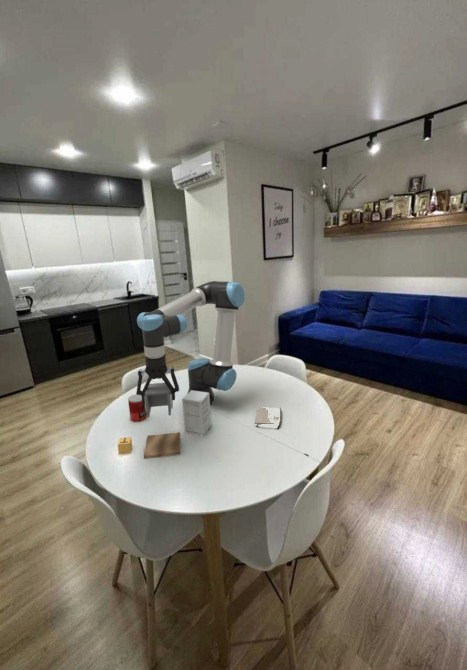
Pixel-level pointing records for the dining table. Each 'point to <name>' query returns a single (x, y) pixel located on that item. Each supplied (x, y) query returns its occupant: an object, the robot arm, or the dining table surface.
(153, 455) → the walnut board
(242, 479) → the dining table surface
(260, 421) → the washcloth
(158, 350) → the robot arm
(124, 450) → the letter cube
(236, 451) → the dining table surface
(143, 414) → the canned food
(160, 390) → the grey box with opening
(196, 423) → the supplement box
